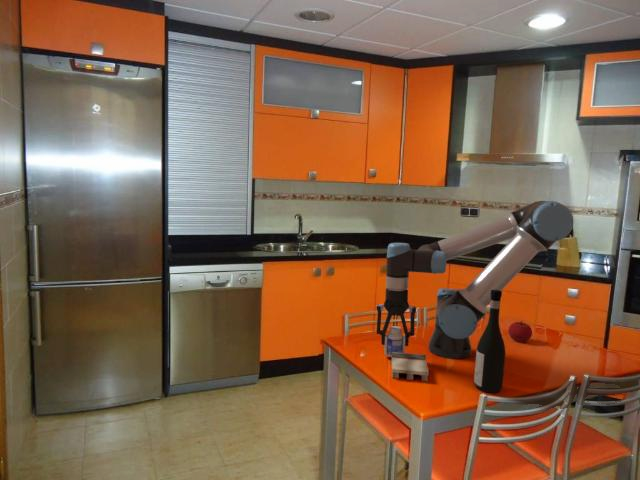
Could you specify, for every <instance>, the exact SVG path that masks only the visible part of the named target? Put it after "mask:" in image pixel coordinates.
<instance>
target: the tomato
mask: <svg viewBox="0 0 640 480" xmlns="http://www.w3.org/2000/svg"><path fill="white" fill-rule="evenodd" d="M507 330H508V331H507V332H508V335H509V337H510V338H511V339H512V340H514V341H516V342H527V341H528V340H530V339H531V338H532V336H533V330H532V328H531V325H529V324H528V323H525V322H523V321H522V320H521V321H515V322H512V323H511V324H510V325H509V327H508V328H507Z"/></svg>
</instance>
